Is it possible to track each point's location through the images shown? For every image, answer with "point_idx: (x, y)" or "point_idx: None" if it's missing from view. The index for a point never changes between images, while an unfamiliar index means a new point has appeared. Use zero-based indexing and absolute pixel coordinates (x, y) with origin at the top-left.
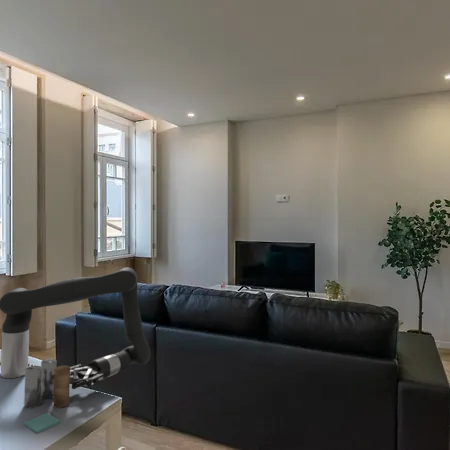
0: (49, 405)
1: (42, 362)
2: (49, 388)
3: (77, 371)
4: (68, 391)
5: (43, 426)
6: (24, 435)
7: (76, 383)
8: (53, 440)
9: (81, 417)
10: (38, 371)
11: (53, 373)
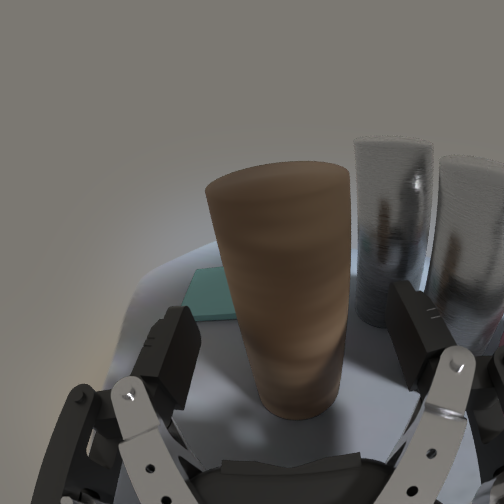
0: None
1: (475, 157)
2: None
3: (479, 489)
4: (249, 358)
5: (198, 282)
6: (218, 259)
7: (159, 326)
8: (139, 285)
9: (129, 374)
10: (359, 151)
11: (443, 262)
